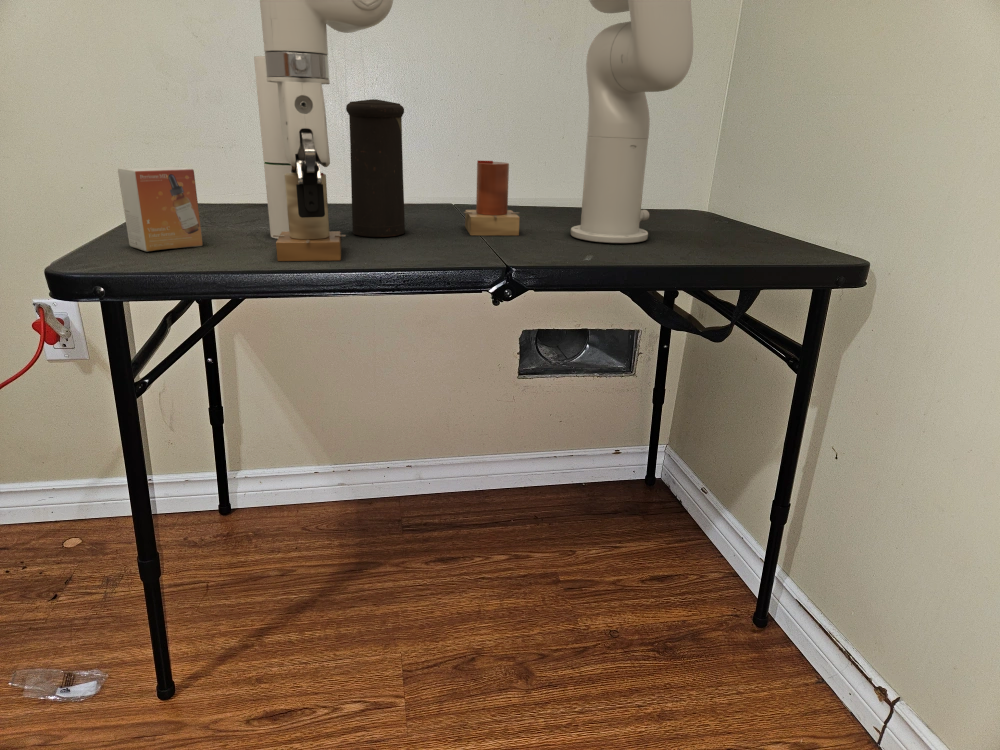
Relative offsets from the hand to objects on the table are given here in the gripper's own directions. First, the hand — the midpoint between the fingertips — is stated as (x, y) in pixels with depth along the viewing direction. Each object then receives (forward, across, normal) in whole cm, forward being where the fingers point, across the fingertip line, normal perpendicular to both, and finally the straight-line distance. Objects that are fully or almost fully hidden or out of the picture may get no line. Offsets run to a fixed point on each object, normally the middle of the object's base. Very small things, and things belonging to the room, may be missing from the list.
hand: (308, 211), depth 90 cm
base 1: (+6, 0, 0) cm, 6 cm away
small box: (+6, +10, +18) cm, 22 cm away
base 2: (+6, +13, -31) cm, 34 cm away
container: (+6, +15, -12) cm, 20 cm away
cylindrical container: (+6, +15, +1) cm, 16 cm away
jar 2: (+3, +13, -31) cm, 34 cm away
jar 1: (+3, 0, 0) cm, 3 cm away
